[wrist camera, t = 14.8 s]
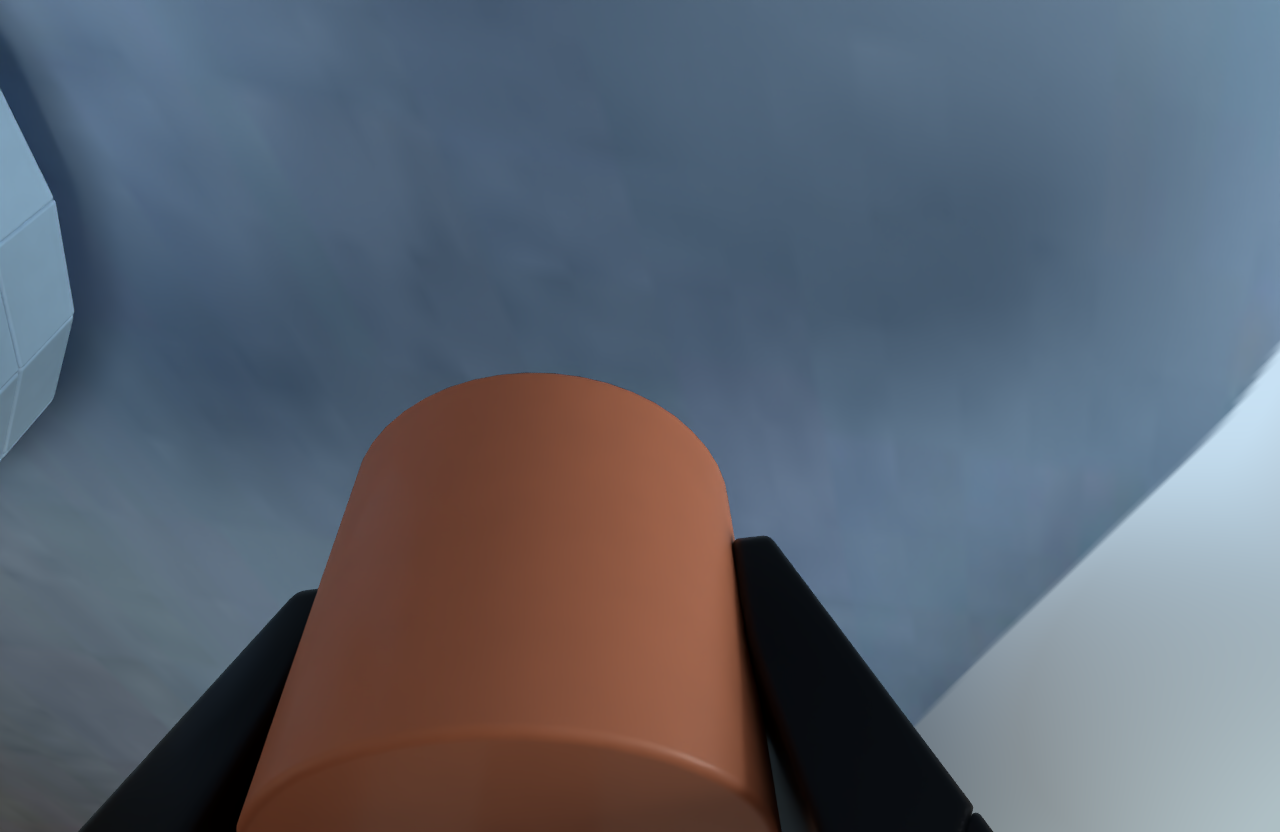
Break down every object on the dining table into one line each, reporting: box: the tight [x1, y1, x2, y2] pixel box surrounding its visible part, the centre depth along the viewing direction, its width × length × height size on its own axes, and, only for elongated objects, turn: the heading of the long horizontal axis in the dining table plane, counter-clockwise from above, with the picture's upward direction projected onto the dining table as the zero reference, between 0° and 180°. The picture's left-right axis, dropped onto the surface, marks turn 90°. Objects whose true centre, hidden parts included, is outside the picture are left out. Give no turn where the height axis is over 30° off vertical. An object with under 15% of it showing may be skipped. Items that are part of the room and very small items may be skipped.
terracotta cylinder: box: [236, 373, 782, 832], centre depth 8 cm, size 4×4×4 cm
